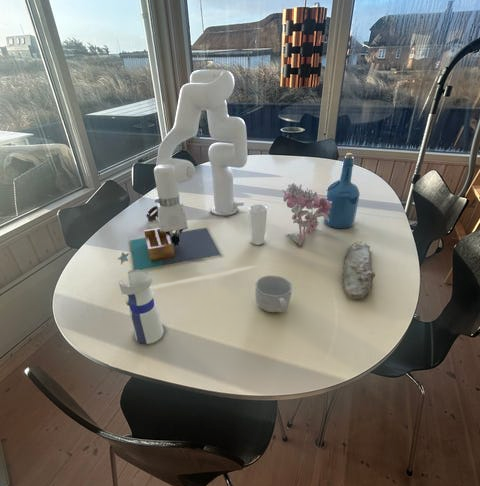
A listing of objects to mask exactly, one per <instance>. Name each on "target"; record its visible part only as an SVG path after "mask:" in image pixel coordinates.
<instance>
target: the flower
mask: <svg viewBox="0 0 480 486" xmlns="http://www.w3.org/2000/svg"><path fill="white" fill-rule="evenodd" d="M302 186H303V184H299V186H298V185H297V184H295V182H293V183H291V184H287V188H286V190H285V189H282V190H281V192H283V193H284V195H283V198H282V199H283V202H284V203H286V207H287V208H290V209H291V210H290V212H291V213H292V217H291V219H292V224H297V225H298V229H299V231H298V232H299V233H296V232H289V233H287V236H289V237H290V239H291V240H292V241H293V242H296V243H297V244H299V247H301V245H302V243H303V242H304V239H305V238H306V236H307V235H308V233H309V232H312V231H313V230H315V229H316V228H317V227H318V226H319V224H320V222H319V220H318V218H320V217H323V219H324V218H325V219H326V220H328V222H329V218H328V217H327V216H328V215H329V213H330V211H329V209H331V207H332V206H331V204H332V201H328V200H327V198H328V197H327V196H326V197H324V196H320V197H318V196H317V195H318V192H317V191H314V193H313V189H312V188H311V189H309V188H306V190H304V189H303V188H302ZM326 200H327V201H326ZM305 208H306V209H307V210H304V209H305ZM328 208H329V209H328ZM313 209H314V210H315V212H314V213H313V212H312V211H309V210H313ZM302 217H304V219H305V220H303V218H302ZM302 228H303V229H302Z"/></svg>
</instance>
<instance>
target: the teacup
mask: <svg viewBox="0 0 480 486" xmlns="http://www.w3.org/2000/svg"><path fill="white" fill-rule="evenodd" d="M254 286H255V291H254V293H255V294H254V297H255V298H254V299H255V302H256V304H257V306H258V307H259V308H260V309H261V310H264V311H265V312H268V313H285V312H286V311H287V307H288V306H289V305H290V302H291V299H292V297H291V296H292V291H293V284H292V282H291V281H290V280H289V279H287V278H286V277H283V276H280V275H265V276H262V277H260V278H258V279H257V280H256V281H255V285H254Z"/></svg>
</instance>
